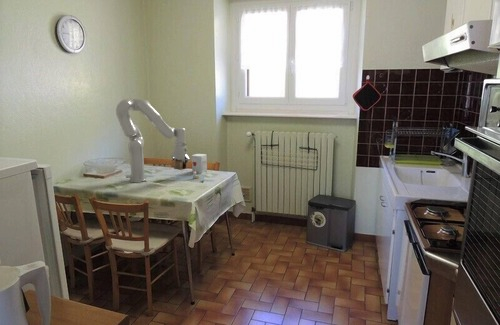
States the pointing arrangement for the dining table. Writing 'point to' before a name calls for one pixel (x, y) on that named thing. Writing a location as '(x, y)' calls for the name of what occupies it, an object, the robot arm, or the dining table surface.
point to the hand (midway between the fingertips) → (180, 167)
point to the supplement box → (199, 163)
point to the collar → (179, 164)
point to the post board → (190, 177)
